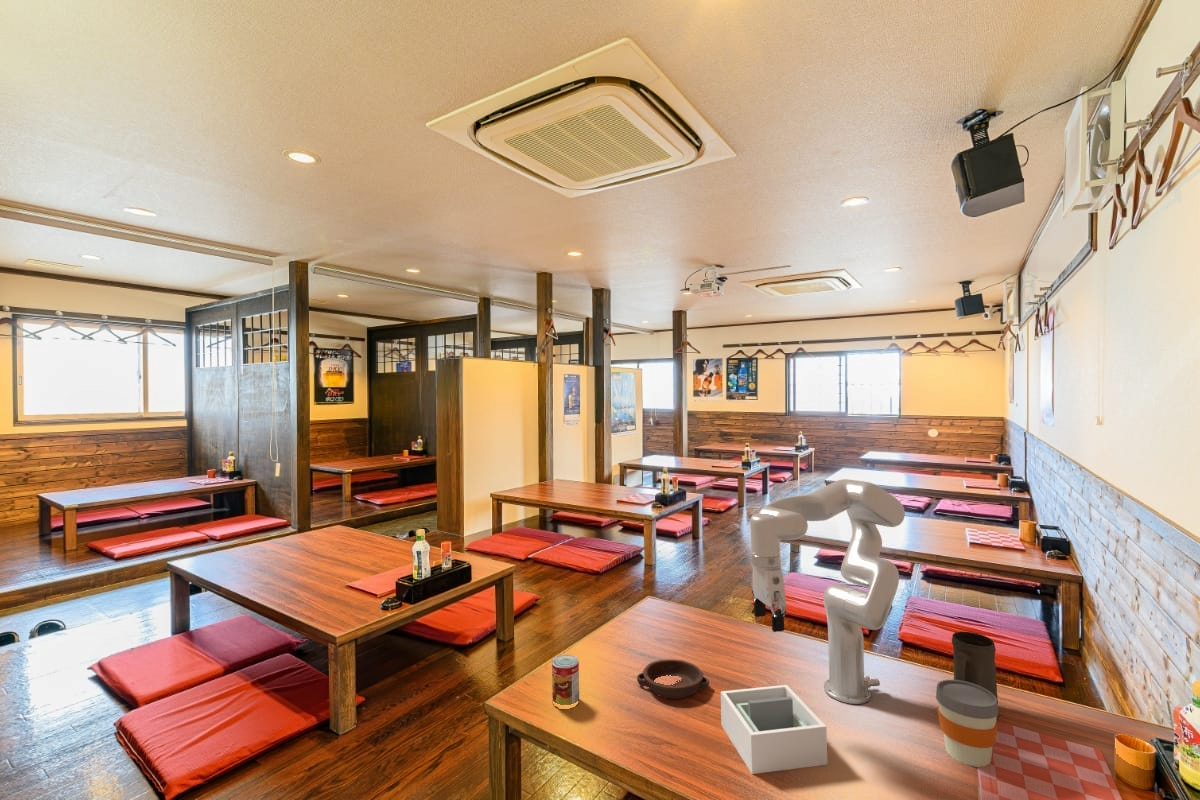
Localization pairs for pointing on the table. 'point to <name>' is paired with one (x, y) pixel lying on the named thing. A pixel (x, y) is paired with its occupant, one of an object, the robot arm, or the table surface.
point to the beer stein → (975, 660)
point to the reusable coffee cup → (967, 721)
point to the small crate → (769, 714)
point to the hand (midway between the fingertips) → (768, 623)
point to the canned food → (565, 679)
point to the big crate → (774, 733)
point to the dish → (683, 669)
